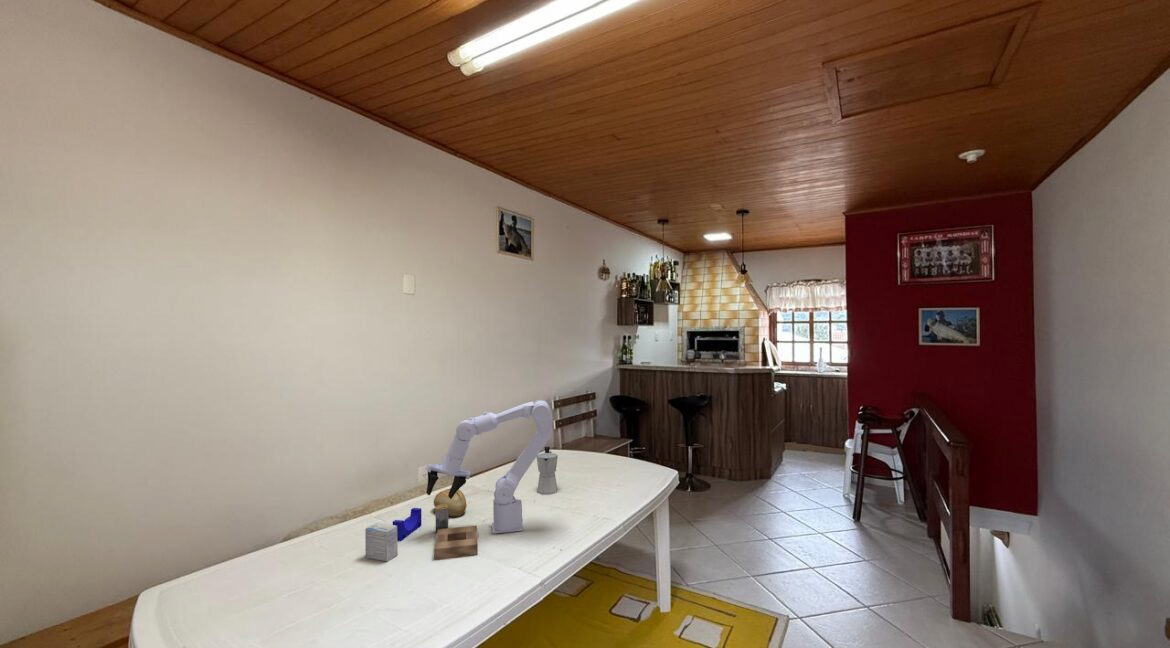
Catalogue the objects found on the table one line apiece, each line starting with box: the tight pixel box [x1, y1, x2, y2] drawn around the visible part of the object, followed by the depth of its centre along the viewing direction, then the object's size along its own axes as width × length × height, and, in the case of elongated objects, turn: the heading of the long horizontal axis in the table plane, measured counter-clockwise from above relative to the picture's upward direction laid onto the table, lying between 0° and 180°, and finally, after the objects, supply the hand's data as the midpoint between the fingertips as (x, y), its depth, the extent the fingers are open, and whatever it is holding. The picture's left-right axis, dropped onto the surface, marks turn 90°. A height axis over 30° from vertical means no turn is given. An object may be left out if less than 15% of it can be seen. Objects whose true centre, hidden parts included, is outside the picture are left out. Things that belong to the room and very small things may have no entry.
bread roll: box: [433, 487, 467, 518], centre depth 170 cm, size 10×15×8 cm, turn 49°
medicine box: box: [364, 522, 399, 562], centre depth 136 cm, size 8×4×9 cm, turn 71°
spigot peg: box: [435, 504, 449, 534], centre depth 153 cm, size 4×4×8 cm
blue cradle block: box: [392, 507, 422, 542], centre depth 152 cm, size 12×4×6 cm, turn 170°
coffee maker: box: [536, 445, 559, 495], centre depth 193 cm, size 15×9×18 cm, turn 179°
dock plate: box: [433, 525, 479, 561], centre depth 142 cm, size 12×14×3 cm
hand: (439, 495), depth 153 cm, fingers open, 7 cm apart
